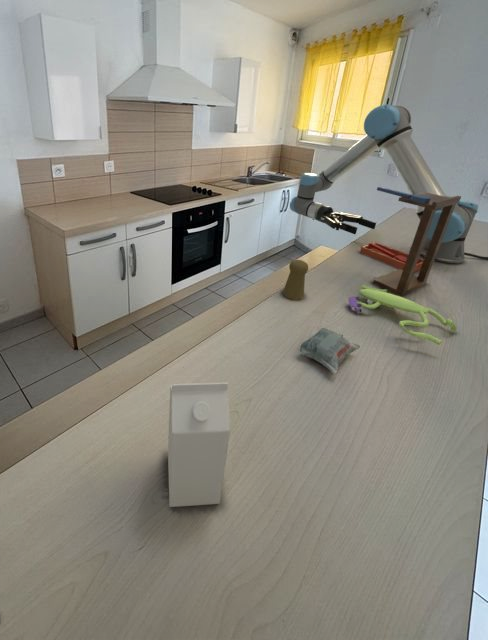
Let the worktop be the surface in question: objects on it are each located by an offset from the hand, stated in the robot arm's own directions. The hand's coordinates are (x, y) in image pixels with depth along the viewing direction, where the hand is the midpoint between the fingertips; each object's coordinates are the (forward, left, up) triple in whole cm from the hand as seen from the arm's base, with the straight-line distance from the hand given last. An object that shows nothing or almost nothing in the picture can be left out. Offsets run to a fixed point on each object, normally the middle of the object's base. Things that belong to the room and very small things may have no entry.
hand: (365, 228), depth 129 cm
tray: (-11, +5, -8) cm, 15 cm away
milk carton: (+11, +114, -9) cm, 115 cm away
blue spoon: (-7, +28, +21) cm, 36 cm away
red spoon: (-10, +4, -7) cm, 13 cm away
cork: (+13, +53, -9) cm, 55 cm away
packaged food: (-1, +75, -9) cm, 76 cm away
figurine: (-14, +49, -9) cm, 51 cm away
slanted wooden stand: (-14, +25, -8) cm, 30 cm away
